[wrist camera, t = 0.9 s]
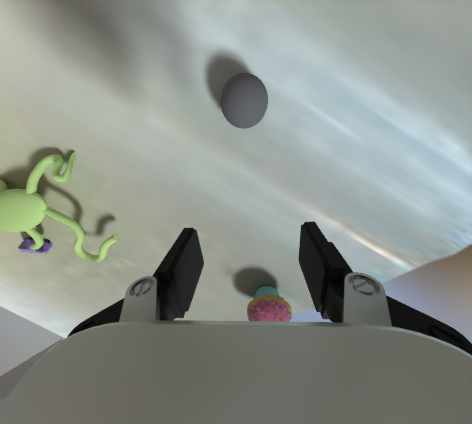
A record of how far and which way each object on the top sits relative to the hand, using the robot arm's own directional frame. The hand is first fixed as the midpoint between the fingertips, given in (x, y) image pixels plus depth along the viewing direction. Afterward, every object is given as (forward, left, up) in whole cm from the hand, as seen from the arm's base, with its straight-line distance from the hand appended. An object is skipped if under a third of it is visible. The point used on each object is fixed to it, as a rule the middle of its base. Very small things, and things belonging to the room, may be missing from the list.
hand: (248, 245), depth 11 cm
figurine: (+33, -15, -18) cm, 41 cm away
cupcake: (+11, +24, -18) cm, 32 cm away
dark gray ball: (-5, -8, -15) cm, 18 cm away
